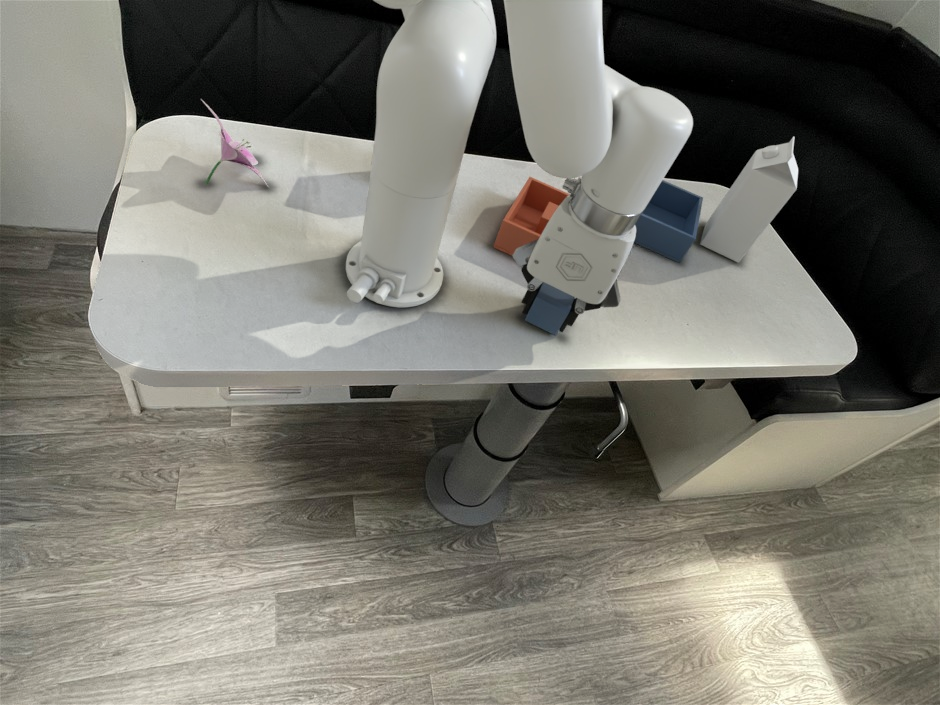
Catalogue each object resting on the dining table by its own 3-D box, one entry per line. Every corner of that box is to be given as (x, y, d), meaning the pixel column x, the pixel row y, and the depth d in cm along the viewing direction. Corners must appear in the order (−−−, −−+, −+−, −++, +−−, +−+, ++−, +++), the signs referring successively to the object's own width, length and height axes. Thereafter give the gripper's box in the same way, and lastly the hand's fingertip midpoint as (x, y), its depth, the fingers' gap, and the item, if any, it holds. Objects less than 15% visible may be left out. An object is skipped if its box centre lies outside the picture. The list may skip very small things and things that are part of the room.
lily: (257, 223, 78) (289, 160, 74) (163, 179, 72) (193, 109, 69) (261, 193, 87) (289, 136, 84) (178, 152, 82) (205, 89, 78)
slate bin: (679, 262, 94) (695, 239, 90) (603, 229, 95) (616, 204, 91) (688, 220, 103) (703, 197, 99) (618, 190, 104) (631, 166, 100)
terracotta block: (558, 253, 87) (570, 229, 84) (531, 240, 88) (541, 216, 84) (566, 237, 90) (577, 213, 87) (539, 225, 90) (549, 201, 87)
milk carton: (742, 242, 103) (816, 146, 89) (738, 264, 98) (815, 166, 84) (704, 224, 103) (772, 126, 89) (698, 245, 99) (768, 145, 85)
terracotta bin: (576, 285, 84) (590, 259, 81) (493, 247, 85) (502, 220, 81) (595, 236, 93) (608, 211, 89) (519, 202, 94) (529, 176, 90)
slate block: (555, 335, 76) (569, 312, 73) (524, 320, 76) (536, 296, 73) (563, 314, 79) (577, 291, 76) (533, 299, 79) (545, 276, 76)
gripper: (526, 189, 62) (477, 305, 75) (672, 258, 61) (596, 363, 75) (544, 158, 67) (496, 272, 80) (680, 222, 66) (608, 326, 80)
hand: (545, 315), depth 78 cm, fingers closed on slate block, 4 cm apart
